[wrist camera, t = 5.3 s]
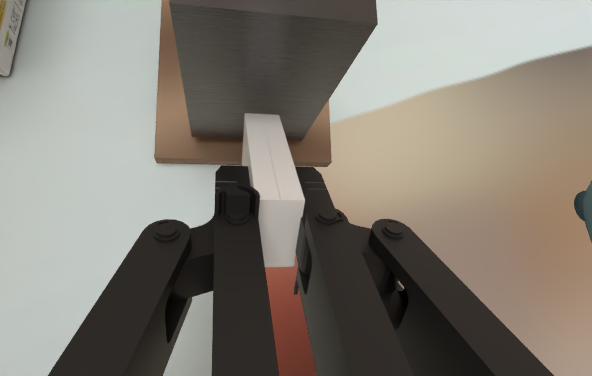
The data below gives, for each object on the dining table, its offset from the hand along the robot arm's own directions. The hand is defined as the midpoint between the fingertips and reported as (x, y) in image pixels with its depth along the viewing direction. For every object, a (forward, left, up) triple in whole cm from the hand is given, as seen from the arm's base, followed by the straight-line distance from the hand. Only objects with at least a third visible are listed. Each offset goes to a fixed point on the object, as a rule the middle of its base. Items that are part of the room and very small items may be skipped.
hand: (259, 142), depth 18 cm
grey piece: (-9, +5, -4) cm, 11 cm away
